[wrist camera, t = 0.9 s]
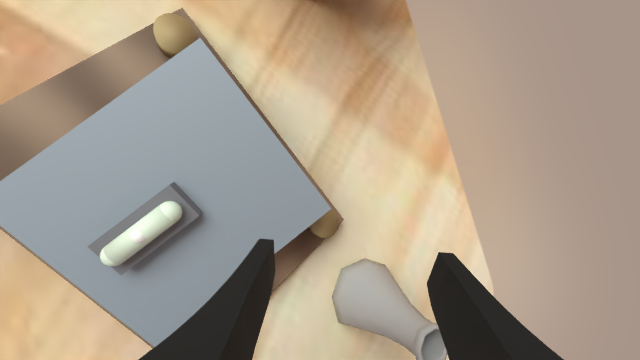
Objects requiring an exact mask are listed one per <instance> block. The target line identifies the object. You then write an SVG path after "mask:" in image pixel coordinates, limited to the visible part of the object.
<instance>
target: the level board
mask: <svg viewBox="0 0 640 360" xmlns="http://www.w3.org/2000/svg"><path fill="white" fill-rule="evenodd" d="M329 210H331V207H330V206H329V205H328V203H327V202H326V201H325V199H324V198H323V197H322V196H321V194H320V193H319V192H318V190H317V189H316V188H315V186H314V185H313V184H312V183H311V181H310V180H309V179H308V177H307V176H306V175H305V173H304V172H303V171H302V170H301V168H300V167H299V166H298V164H297V163H296V162H295V160H294V159H293V158H292V157H291V155H290V154H289V153H288V151H287V150H286V149H285V147H284V146H283V145H282V144H281V142H280V141H279V140H278V138H277V137H276V136H275V134H274V133H273V132H272V130H271V129H270V128H269V127H268V125H267V124H266V123H265V121H264V120H263V119H262V117H261V116H260V115H259V114H258V112H257V111H256V110H255V108H254V107H253V106H252V104H251V103H250V102H249V101H248V99H247V98H246V97H245V95H244V94H243V93H242V91H241V90H240V89H239V88H238V86H237V85H236V84H235V82H234V81H233V80H232V78H231V77H230V76H229V75H228V73H227V72H226V71H225V69H224V68H223V67H222V65H221V64H220V63H219V62H218V60H217V59H216V58H215V56H214V55H213V54H212V52H211V51H210V50H209V49H208V47H207V46H206V45H205V43H204V42H203V41H202V39H201V38H199V39H198V40H196V41H195V42H193V43H192V44H191V45H189V46H188V47H186V48H185V49H184V50H182V51H181V52H179V53H178V54H177V55H175V56H174V57H173V58H171V59H170V60H168V61H167V62H166V63H164V64H163V65H161V66H160V67H159V68H157V69H156V70H154V71H153V72H152V73H150V74H149V75H147V76H146V77H145V78H143V79H142V80H140V81H139V82H138V83H136V84H135V85H134V86H132V87H131V88H129V89H128V90H127V91H125V92H124V93H122V94H121V95H120V96H118V97H117V98H115V99H114V100H113V101H111V102H110V103H108V104H107V105H106V106H104V107H103V108H101V109H100V110H99V111H97V112H96V113H95V114H93V115H92V116H90V117H89V118H88V119H86V120H85V121H83V122H82V123H81V124H79V125H78V126H76V127H75V128H74V129H72V130H71V131H69V132H68V133H67V134H65V135H64V136H62V137H61V138H60V139H58V140H57V141H56V142H54V143H53V144H51V145H50V146H49V147H47V148H46V149H44V150H43V151H42V152H40V153H39V154H37V155H36V156H35V157H33V158H32V159H30V160H29V161H28V162H26V163H25V164H23V165H22V166H21V167H19V168H18V169H17V170H15V171H14V172H12V173H11V174H10V175H8V176H7V177H5V178H4V179H3V180H1V181H0V226H1V227H2V228H4V229H5V230H6V231H7V232H9V233H10V234H11V235H12V236H14V237H15V238H16V239H18V240H19V241H20V242H21V243H23V244H24V245H25V246H26V247H28V248H29V249H30V250H32V251H33V252H34V253H35V254H37V255H38V256H39V257H40V258H42V259H43V260H44V261H46V262H47V263H48V264H49V265H51V266H52V267H53V268H54V269H56V270H57V271H58V272H60V273H61V274H62V275H63V276H65V277H66V278H67V279H68V280H70V281H71V282H72V283H74V284H75V285H76V286H77V287H79V288H80V289H81V290H82V291H84V292H85V293H86V294H87V295H89V296H90V297H91V298H93V299H94V300H95V301H96V302H98V303H99V304H100V305H101V306H103V307H104V308H105V309H107V310H108V311H109V312H110V313H112V314H113V315H114V316H115V317H117V318H118V319H119V320H121V321H122V322H123V323H124V324H126V325H127V326H128V327H129V328H131V329H132V330H133V331H135V332H136V333H137V334H138V335H140V336H141V337H142V338H143V339H145V340H146V341H147V342H149V343H150V344H151V345H152V346H154V347H156V346H157V345H158V344H159V343H161V342H162V341H163V340H165V339H166V338H167V337H168V336H170V335H171V334H172V333H173V332H174V331H176V330H177V329H178V328H179V327H180V326H181V325H182V324H184V323H185V322H186V321H187V320H188V319H189V318H190V317H191V316H193V315H194V314H195V313H196V312H197V311H198V310H199V309H200V308H201V307H202V306H203V305H204V304H205V303H206V302H207V301H208V300H209V299H210V298H211V297H212V296H213V295H214V294H215V293H216V292H217V291H218V289H219V288H220V287H221V286H222V285H223V284H224V283H225V282H226V281H227V280H228V278H229V277H230V276H231V275H232V274H233V272H234V271H235V270H236V269H237V268H238V266H239V265H240V264H241V263H242V261H243V260H244V259H245V257H246V256H247V255H248V253H249V252H250V251H251V249H252V248H253V247H254V245H255V244H256V242H257V241H258V240H259V239H272V240H274V253H276V252H278V251H279V250H280V249H281V248H283V247H284V246H285V245H286V244H288V243H289V242H290V241H291V240H293V239H294V238H295V237H296V236H298V235H299V234H300V233H302V232H303V231H304V230H305V229H307V228H308V227H309V226H310V225H312V224H313V223H314V222H315V221H317V220H318V219H319V218H320V217H322V216H323V215H324V214H325V213H327V212H328V211H329Z"/></svg>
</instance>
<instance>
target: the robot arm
mask: <svg viewBox="0 0 640 360" xmlns="http://www.w3.org/2000/svg"><path fill="white" fill-rule="evenodd" d="M274 277H275V253H274V240H272V239H259V240H258V241H257V242H256V244H255V245H254V247H253V248H252V249H251V251H250V252H249V253H248V255H247V256H246V257H245V259H244V260H243V261H242V263H241V264H240V265H239V266H238V268H237V269H236V270H235V271H234V272H233V274H232V275H231V276H230V277H229V278H228V280H227V281H226V282H225V283H224V284H223V285H222V286H221V287H220V288H219V289H218V291H217V292H216V293H215V294H214V295H213V296H212V297H211V298H210V299H209V300H208V301H207V302H206V303H205V304H204V305H203V306H202V307H201V308H200V309H199V310H198V311H197V312H196V313H195V314H194V315H193V316H191V317H190V318H189V319H188V320H187V321H186V322H185V323H184V324H182V325H181V326H180V327H179V328H178V329H177V330H176V331H174V332H173V333H172V334H171V335H170V336H168V337H167V338H166V339H165V340H163V341H162V342H161V343H159V344H158V345H157V346H156V347H154V348H153V349H152V350H150V351H149V352H148V353H147V354H145V355H144V356H143V357H141V358H140V359H139V360H252V357H253V353H254V350H255V346H256V343H257V339H258V336H259V333H260V329H261V326H262V323H263V320H264V316H265V313H266V310H267V306H268V303H269V300H270V296H271V292H272V287H273V282H274ZM427 287H428V292H429V297H430V302H431V306H432V310H433V313H434V316H435V319H436V322H437V325H438V328H439V331H440V333H441V336H442V339H443V342H444V345H445V348H446V351H447V354H448V357H449V360H564V359H562V358H561V357H560V356H558V355H557V354H556V353H555V352H554V351H552V350H551V349H550V348H549V347H547V346H546V345H545V344H544V343H543V342H542V341H540V340H539V339H538V338H537V337H536V336H535V335H533V334H532V333H531V332H530V331H529V330H528V329H527V328H525V327H524V326H523V325H522V324H521V323H520V322H519V321H518V320H517V319H516V318H515V317H514V316H513V315H512V314H511V313H509V312H508V311H507V310H506V309H505V308H504V307H503V306H502V305H501V304H500V303H499V302H498V301H497V300H496V299H495V298H494V297H493V296H492V295H491V294H490V293H489V292H488V290H487V289H486V288H485V287H484V286H483V285H482V284H481V283H480V282H479V281H478V280H477V279H476V278H475V277H474V276H473V274H472V273H471V272H470V271H469V270H468V269H467V268H466V267H465V266H464V265H463V264H462V262H461V261H460V260H459V259H458V258H457V257H456V256H455V255H454V254H453V253H441V252H439V253H438V256H437V258H436V261H435V263H434V266H433V269H432V271H431V274H430V276H429V279H428V282H427Z"/></svg>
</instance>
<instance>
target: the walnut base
mask: <svg viewBox="0 0 640 360" xmlns="http://www.w3.org/2000/svg"><path fill="white" fill-rule="evenodd" d="M199 38H201V39H202V41H203V42H204V43H205V45H206V46H207V47H208V49H209V50H210V51H211V52H212V54H213V55H214V56H215V58H216V59H217V60H218V62H219V63H220V64H221V65H222V67H223V68H224V69H225V71H226V72H227V73H228V75H229V76H230V77H231V78H232V80H233V81H234V82H235V84H236V85H237V86H238V88H239V89H240V90H241V91H242V93H243V94H244V95H245V97H246V98H247V99H248V101H249V102H250V103H251V104H252V106H253V107H254V108H255V110H256V111H257V112H258V114H259V115H260V116H261V117H262V119H263V120H264V121H265V123H266V124H267V125H268V127H269V128H270V129H271V130H272V132H273V133H274V134H275V136H276V137H277V138H278V140H279V141H280V142H281V144H282V145H283V146H284V147H285V149H286V150H287V151H288V153H289V154H290V155H291V157H292V158H293V159H294V160H295V162H296V163H297V164H298V166H299V167H300V168H301V170H302V171H303V172H304V173H305V175H306V176H307V177H308V179H309V180H310V181H311V183H312V184H313V185H314V186H315V188H316V189H317V190H318V192H319V193H320V194H321V196H322V197H323V198H324V199H325V201H326V202H327V203H328V205H329V206H330V207H331V210H329V211H328V212H327V213H325V214H324V215H323V216H322V217H320V218H319V219H318V220H317V221H315V222H314V223H313V224H312V225H310V226H309V227H308V228H307V229H305V230H304V231H303V232H302V233H300V234H299V235H298V236H296V237H295V238H294V239H293V240H291V241H290V242H289V243H288V244H286V245H285V246H284V247H283V248H281V249H280V250H279V251H278V252H276V253H275V277H274V282H273V287H272V291H273V290H274V289H275V288H276V287H277V286H278V285H279V284H280V283H281V282H282V281H283V280H284V279H285V278H286V277H287V276H288V275H289V274H290V273H291V272H292V271H293V270H294V269H295V268H296V267H297V266H298V265H299V264H300V263H301V262H302V261H303V260H304V259H305V258H306V257H307V256H308V255H309V254H310V253H311V252H312V251H313V250H314V249H315V248H316V247H317V246H318V245H319V244H320V243H321V242H322V241H323V240H324V239H325V238H328V237H331V236H332V235H334V234H335V232H336V231H337V229H338V226H339V224H340V223H341V222H342V221H343V220H344V219H343V218H342V217H341V215H340V214H339V213H338V211H337V210H336V209H335V207H334V206H333V205H332V203H331V202H330V201H329V199H328V198H327V197H326V196H325V194H324V193H323V192H322V190H321V189H320V188H319V186H318V185H317V184H316V182H315V181H314V180H313V179H312V177H311V176H310V175H309V173H308V172H307V171H306V169H305V168H304V167H303V165H302V164H301V163H300V161H299V160H298V159H297V158H296V156H295V155H294V154H293V152H292V151H291V150H290V148H289V147H288V146H287V144H286V143H285V142H284V141H283V139H282V138H281V137H280V135H279V134H278V133H277V131H276V130H275V129H274V127H273V126H272V125H271V123H270V122H269V121H268V120H267V118H266V117H265V116H264V114H263V113H262V112H261V110H260V109H259V108H258V106H257V105H256V104H255V102H254V101H253V100H252V99H251V97H250V96H249V95H248V93H247V92H246V91H245V89H244V88H243V87H242V85H241V84H240V83H239V82H238V80H237V79H236V78H235V76H234V75H233V74H232V72H231V71H230V70H229V68H228V67H227V66H226V64H225V63H224V62H223V61H222V59H221V58H220V57H219V55H218V54H217V53H216V51H215V50H214V49H213V47H212V46H211V45H210V44H209V42H208V41H207V40H206V38H205V37H204V36H203V34H202V33H201V32H200V30H199V29H198V28H197V26H196V25H195V24H194V23H193V21H192V20H191V19H190V17H189V16H188V15H187V13H186V12H185V11H184V9H183V8H181V9H179V10H177V11H175V12H173V13H168V14H163V15H161V16H159V17H158V18H157V19H156V21H155V22H154V23H153V24H151V25H149V26H147V27H145V28H144V29H142V30H140V31H138V32H136V33H134V34H132V35H131V36H129V37H127V38H125V39H123V40H121V41H119V42H117V43H116V44H114V45H112V46H110V47H108V48H106V49H104V50H103V51H101V52H99V53H97V54H95V55H93V56H91V57H89V58H88V59H86V60H84V61H82V62H80V63H78V64H76V65H75V66H73V67H71V68H69V69H67V70H65V71H63V72H62V73H60V74H58V75H56V76H54V77H52V78H50V79H48V80H47V81H45V82H43V83H41V84H39V85H37V86H35V87H34V88H32V89H30V90H28V91H26V92H24V93H22V94H20V95H19V96H17V97H15V98H13V99H11V100H9V101H7V102H6V103H4V104H2V105H0V181H1V180H3V179H4V178H5V177H7V176H8V175H10V174H11V173H12V172H14V171H15V170H17V169H18V168H19V167H21V166H22V165H23V164H25V163H26V162H28V161H29V160H30V159H32V158H33V157H35V156H36V155H37V154H39V153H40V152H42V151H43V150H44V149H46V148H47V147H49V146H50V145H51V144H53V143H54V142H56V141H57V140H58V139H60V138H61V137H62V136H64V135H65V134H67V133H68V132H69V131H71V130H72V129H74V128H75V127H76V126H78V125H79V124H81V123H82V122H83V121H85V120H86V119H88V118H89V117H90V116H92V115H93V114H95V113H96V112H97V111H99V110H100V109H101V108H103V107H104V106H106V105H107V104H108V103H110V102H111V101H113V100H114V99H115V98H117V97H118V96H120V95H121V94H122V93H124V92H125V91H127V90H128V89H129V88H131V87H132V86H134V85H135V84H136V83H138V82H139V81H140V80H142V79H143V78H145V77H146V76H147V75H149V74H150V73H152V72H153V71H154V70H156V69H157V68H159V67H160V66H161V65H163V64H164V63H166V62H167V61H168V60H170V59H171V58H173V57H174V56H175V55H177V54H178V53H179V52H181V51H182V50H184V49H185V48H186V47H188V46H189V45H191V44H192V43H193V42H195V41H196V40H198V39H199ZM0 229H1V230H3V231H4V232H5V233H6V234H8V235H9V236H10V237H11V238H13V239H14V240H15V241H17V242H18V243H19V244H20V245H22V246H23V247H24V248H26V249H27V250H28V251H29V252H31V253H32V254H33V255H34V256H36V257H37V258H38V259H40V260H41V261H42V262H43V263H45V264H46V265H47V266H49V267H50V268H51V269H52V270H54V271H55V272H56V273H57V274H59V275H60V276H61V277H63V278H64V279H65V280H66V281H68V282H69V283H70V284H72V285H73V286H74V287H75V288H77V289H78V290H79V291H80V292H82V293H83V294H84V295H86V296H87V297H88V298H89V299H91V300H92V301H93V302H94V303H96V304H97V305H98V306H100V307H101V308H102V309H103V310H105V311H106V312H107V313H109V314H110V315H111V316H112V317H114V318H115V319H116V320H117V321H119V322H120V323H121V324H123V325H124V326H125V327H126V328H128V329H129V330H130V331H132V332H133V333H134V334H135V335H137V336H138V337H139V338H140V339H142V340H143V341H144V342H146V343H147V344H148V345H149V346H151V347H152V348H154V346H152V345H151V344H150V343H149V342H147V341H146V340H145V339H143V338H142V337H141V336H140V335H138V334H137V333H136V332H135V331H133V330H132V329H131V328H129V327H128V326H127V325H126V324H124V323H123V322H122V321H121V320H119V319H118V318H117V317H115V316H114V315H113V314H112V313H110V312H109V311H108V310H107V309H105V308H104V307H103V306H101V305H100V304H99V303H98V302H96V301H95V300H94V299H93V298H91V297H90V296H89V295H87V294H86V293H85V292H84V291H82V290H81V289H80V288H79V287H77V286H76V285H75V284H74V283H72V282H71V281H70V280H68V279H67V278H66V277H65V276H63V275H62V274H61V273H60V272H58V271H57V270H56V269H54V268H53V267H52V266H51V265H49V264H48V263H47V262H46V261H44V260H43V259H42V258H40V257H39V256H38V255H37V254H35V253H34V252H33V251H32V250H30V249H29V248H28V247H26V246H25V245H24V244H23V243H21V242H20V241H19V240H18V239H16V238H15V237H14V236H12V235H11V234H10V233H9V232H7V231H6V230H5V229H4V228H2V227H1V226H0Z"/></svg>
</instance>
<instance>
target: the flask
mask: <svg viewBox="0 0 640 360" xmlns="http://www.w3.org/2000/svg"><path fill="white" fill-rule="evenodd" d="M332 298H333V302H334V306H335V310H336V314H337V318H338V322H340V323H343V324H346V325H350V326H354V327H357V328H361V329H364V330H367V331H370V332H373V333H376V334H379V335H382V336H386V337H388V338H390V339H392V340H393V341H395V342H397V343H399V344H401V345H403V346H404V347H405V348H407V349H408V350H409V351H410V352H411V353H413V354H414V355H415V356H416V360H445V359H446V356H447V351H446V348H445V345H444V342H443V339H442V336H441V333H440V331H439V328H438V325H437V324H435V323H432V322H431V321H429V320H428V319H426V318H425V317H424V316H423V315H422V314H421V313H420V312H419V311H418V310H417V309H416V308H415V307H414V306H413V305H412V304H411V303H410V301H409V300H408V299H407V297H406V296H405V294H404V293H403V291H402V290H401V289H400V287H399V286H398V284H397V283H396V281H395V279H394V278H393V276H392V275H391V273H390V271H389V270H388V268H387V267H386V266H385V265H384V264H380V263H377V262H374V261H371V260H368V259H362V260H360V261H358V262H356V263H354V264H352V265H349V266H347V267H345V268H343V269H341V272H340V275H339V278H338V281H337V284H336V287H335V290H334V292H333V295H332Z"/></svg>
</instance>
